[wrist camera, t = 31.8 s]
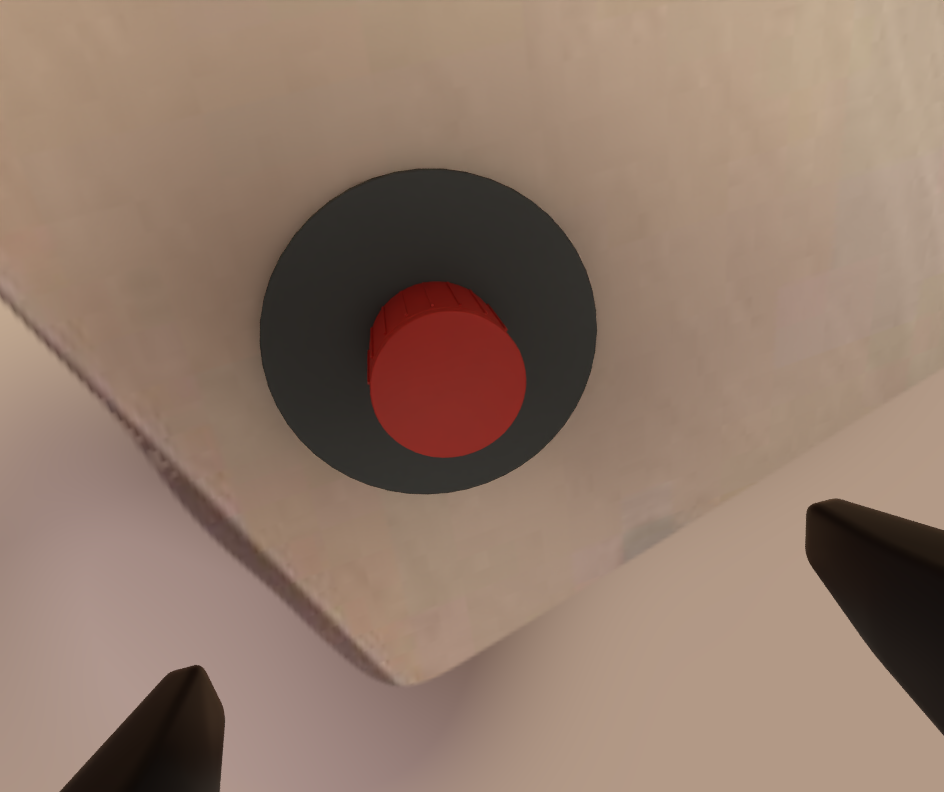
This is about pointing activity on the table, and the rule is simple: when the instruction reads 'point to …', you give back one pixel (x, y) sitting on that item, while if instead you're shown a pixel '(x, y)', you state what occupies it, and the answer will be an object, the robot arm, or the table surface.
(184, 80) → the table surface
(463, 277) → the coaster
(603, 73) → the table surface
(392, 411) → the cap
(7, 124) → the table surface
